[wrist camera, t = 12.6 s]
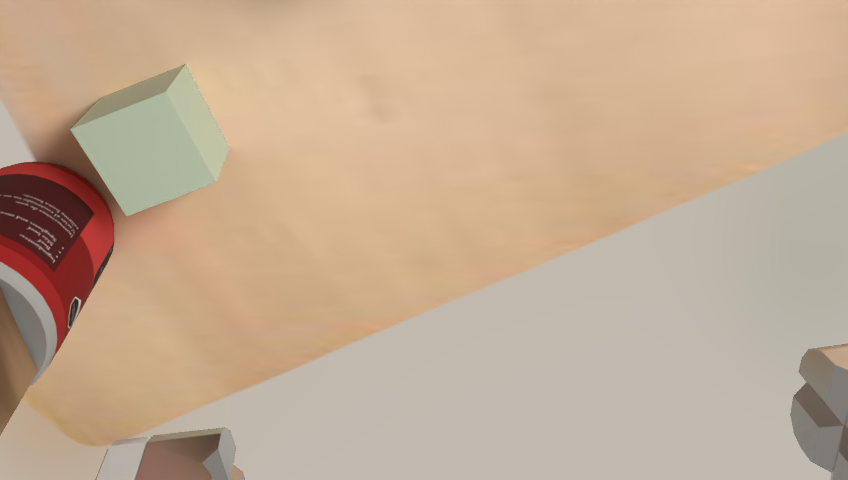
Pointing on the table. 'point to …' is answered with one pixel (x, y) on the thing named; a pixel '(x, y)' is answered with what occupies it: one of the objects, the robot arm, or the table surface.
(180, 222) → the table surface
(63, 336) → the canned food
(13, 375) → the walnut cube
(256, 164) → the table surface
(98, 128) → the sage block
